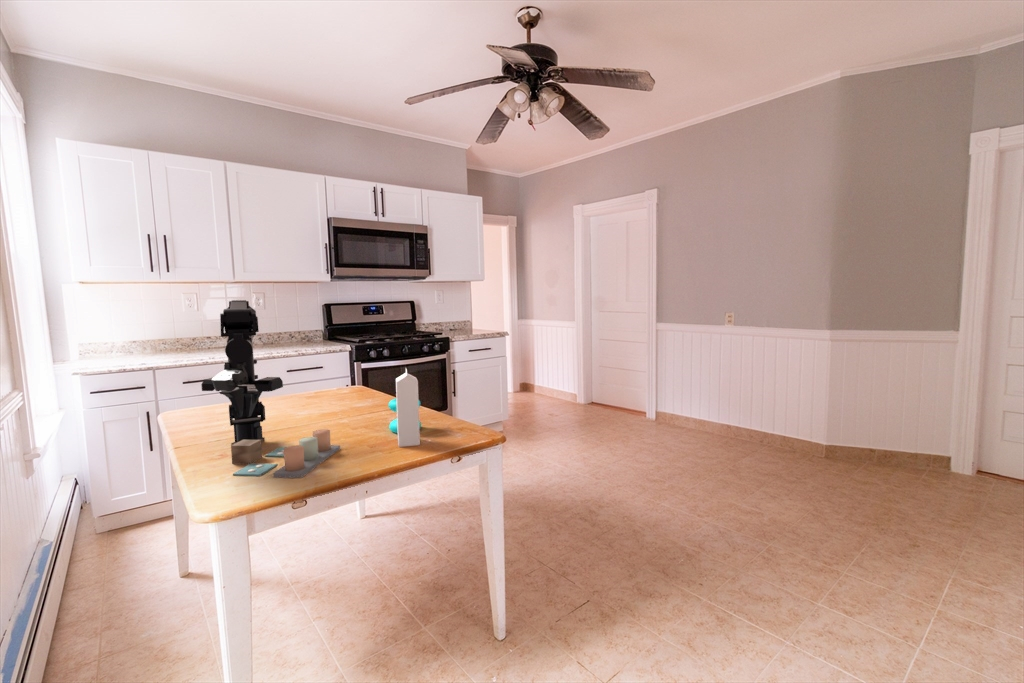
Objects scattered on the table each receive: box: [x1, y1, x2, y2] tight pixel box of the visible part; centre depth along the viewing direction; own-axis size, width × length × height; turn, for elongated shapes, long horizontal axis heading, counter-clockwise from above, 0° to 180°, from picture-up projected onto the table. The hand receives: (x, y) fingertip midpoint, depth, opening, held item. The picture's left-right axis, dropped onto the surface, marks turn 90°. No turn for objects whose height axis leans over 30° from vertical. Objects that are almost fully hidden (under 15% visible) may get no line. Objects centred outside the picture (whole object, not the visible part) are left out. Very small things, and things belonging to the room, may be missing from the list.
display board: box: [272, 428, 341, 479], centre depth 121 cm, size 7×21×6 cm, turn 176°
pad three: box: [265, 446, 287, 458], centre depth 129 cm, size 7×7×1 cm
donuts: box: [388, 398, 422, 434], centre depth 149 cm, size 10×10×10 cm
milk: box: [395, 368, 421, 448], centre depth 135 cm, size 6×6×22 cm
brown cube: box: [230, 439, 263, 465], centre depth 123 cm, size 5×5×5 cm
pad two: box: [232, 462, 278, 477], centre depth 116 cm, size 7×7×1 cm
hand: (244, 416), depth 122 cm, fingers open, 2 cm apart
